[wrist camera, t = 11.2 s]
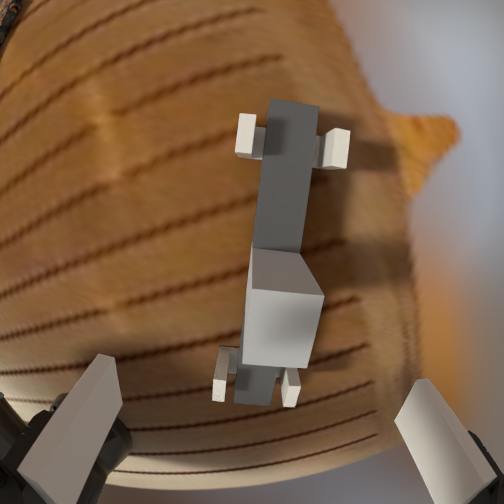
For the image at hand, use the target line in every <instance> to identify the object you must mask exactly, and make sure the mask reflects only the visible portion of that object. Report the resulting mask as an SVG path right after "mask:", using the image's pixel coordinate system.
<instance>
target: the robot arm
mask: <svg viewBox="0 0 504 504" xmlns="http://www.w3.org/2000/svg"><path fill="white" fill-rule="evenodd" d="M122 404H123V402H122V397H121V392H120V387H119V382H118V376H117V370H116V363H115V358H114V357H110V356H106V355H103V354H98V355H97V356H96V358H95V359H94V360H93V361H92V363H91V364H90V365H89V367H88V368H87V369H86V371H85V372H84V373H83V375H82V376H81V377H80V379H79V380H78V381H77V383H76V384H75V385H74V387H73V388H72V389H71V391H70V392H69V393H65V394H61V395H59V396H58V397H57V398H56V399H55V401H54V402H53V403H52V405H51V407H50V411H46V410H43V411H41V412H40V413H38V414H36V415H35V416H34V417H33V418H32V419H31V421H30V422H29V423H28V425H27V424H26V423H25V422H24V421H23V420H22V419H21V417H20V416H19V415H18V414H17V413H16V412H15V410H14V409H13V408H12V407H11V406H10V404H9V403H8V402H7V401H6V399H5V398H4V394H3V393H2V392H0V504H97V502H98V500H99V497H100V494H101V492H102V489H103V487H104V484H105V482H106V479H107V477H108V475H109V474H110V473H111V472H112V471H113V470H114V469H115V468H116V467H117V466H118V465H119V464H120V463H121V462H122V461H123V460H124V459H125V458H126V457H127V456H128V454H129V452H130V449H131V447H132V438H131V436H130V434H129V432H128V430H127V429H126V427H125V426H124V425H123V424H122V423H121V422H120V421H119V420H118V419H117V418H116V416H117V414H118V412H119V410H120V408H121V406H122ZM394 421H395V423H396V425H397V427H398V429H399V431H400V433H401V435H402V437H403V439H404V441H405V443H406V445H407V447H408V449H409V451H410V453H411V455H412V457H413V459H414V461H415V463H416V465H417V467H418V469H419V471H420V473H421V475H422V477H423V480H424V482H425V484H426V486H427V488H428V490H429V492H430V495H431V497H432V499H433V501H434V503H435V504H504V474H503V473H502V472H501V471H500V469H499V468H498V466H497V464H496V463H495V461H494V460H493V458H492V457H491V456H490V454H489V453H488V452H487V450H486V448H485V447H484V446H483V444H482V443H481V441H480V439H479V438H478V437H477V436H476V435H475V434H473V433H472V432H471V431H467V430H466V429H465V428H464V426H463V425H462V423H461V422H460V420H459V419H458V418H457V416H456V415H455V414H454V412H453V411H452V409H451V408H450V407H449V405H448V404H447V402H446V401H445V400H444V398H443V397H442V396H441V394H440V393H439V392H438V391H437V389H436V388H435V387H434V385H433V384H432V383H431V381H430V380H429V379H428V378H427V379H418V380H416V381H415V383H414V385H413V387H412V389H411V391H410V393H409V395H408V397H407V399H406V401H405V403H404V404H403V406H402V408H401V410H400V412H399V413H398V415H397V417H396V419H395V420H394Z"/></svg>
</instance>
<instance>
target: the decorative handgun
mask: <svg viewBox="0 0 504 504" xmlns="http://www.w3.org/2000/svg"><path fill="white" fill-rule="evenodd" d="M20 8H21V3H20V2H19V1H18V0H4V1H3V3H2V5H1V6H0V45H1V44H2V42H3V40H4V38H5V35H6V33H7V31H8V29H9V27H10V26H11V25H12V23H13V21H14V19H15V17H16V15H17V12H18V11H19V10H20Z"/></svg>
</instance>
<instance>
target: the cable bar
mask: <svg viewBox="0 0 504 504" xmlns="http://www.w3.org/2000/svg"><path fill="white" fill-rule="evenodd" d="M318 111H319V106H314V105H308V104H303V103H297V102H290V101H284V100H277V99H270V103H269V108H268V116H267V124H266V133H265V141H264V149H263V157H262V165H261V174H260V182H259V190H258V198H257V207H256V215H255V223H254V231H253V240H252V248H251V256H250V264H249V273H248V281H247V289H246V298H245V306H244V314H243V322H242V331H241V339H240V347H239V356H238V364H237V372H236V381H235V391H234V403H238V404H249V405H263V406H270V403H271V398H272V394H273V390H274V385H275V381H276V376H277V371H278V367H290V368H307V365H308V362H309V358H310V354H311V350H312V347H313V343H314V339H315V335H316V331H317V326H318V322H319V318H320V314H321V309H322V305H323V301H324V294H323V292H322V290H321V289H320V287H319V285H318V284H317V282H316V280H315V278H314V277H313V275H312V273H311V272H310V270H309V268H308V266H307V265H306V263H305V261H304V260H303V258H302V256H301V255H300V249H301V243H302V236H303V230H304V223H305V217H306V210H307V203H308V195H309V188H310V180H311V173H312V165H313V157H314V148H315V139H316V130H317V121H318Z"/></svg>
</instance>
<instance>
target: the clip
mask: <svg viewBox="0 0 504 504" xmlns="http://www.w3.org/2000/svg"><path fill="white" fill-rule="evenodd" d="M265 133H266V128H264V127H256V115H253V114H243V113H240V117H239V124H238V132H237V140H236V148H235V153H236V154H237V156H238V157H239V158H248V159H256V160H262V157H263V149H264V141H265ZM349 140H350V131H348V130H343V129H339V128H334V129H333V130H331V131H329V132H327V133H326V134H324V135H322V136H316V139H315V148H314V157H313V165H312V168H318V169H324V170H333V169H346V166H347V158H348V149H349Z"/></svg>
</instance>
